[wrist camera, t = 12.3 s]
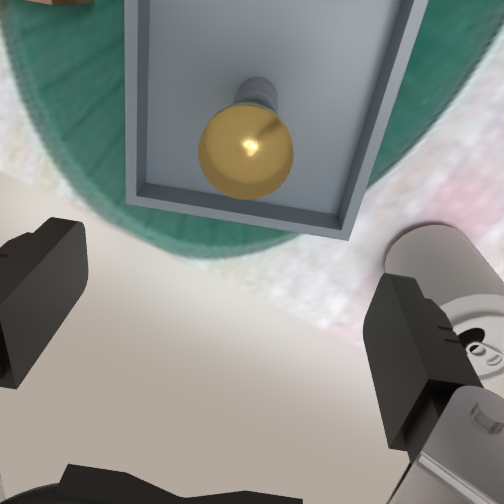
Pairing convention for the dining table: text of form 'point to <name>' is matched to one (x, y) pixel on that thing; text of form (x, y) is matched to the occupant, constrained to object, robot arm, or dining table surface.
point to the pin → (247, 144)
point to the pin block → (64, 2)
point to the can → (457, 290)
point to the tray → (289, 100)
